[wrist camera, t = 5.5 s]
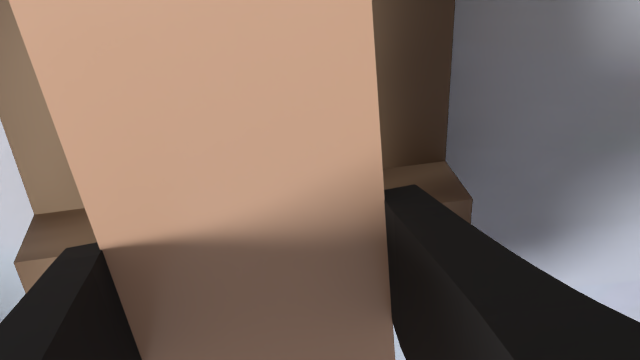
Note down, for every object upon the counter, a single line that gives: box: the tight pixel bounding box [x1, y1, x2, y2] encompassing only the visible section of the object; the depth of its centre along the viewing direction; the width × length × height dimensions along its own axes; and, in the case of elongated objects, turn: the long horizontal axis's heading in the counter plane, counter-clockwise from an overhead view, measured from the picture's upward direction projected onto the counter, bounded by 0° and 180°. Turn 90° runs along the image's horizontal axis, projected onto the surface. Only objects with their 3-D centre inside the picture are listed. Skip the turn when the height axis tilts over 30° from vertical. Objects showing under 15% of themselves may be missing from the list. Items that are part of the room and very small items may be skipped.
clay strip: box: [9, 0, 395, 360], centre depth 10 cm, size 14×4×3 cm, turn 6°
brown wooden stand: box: [0, 0, 473, 293], centre depth 15 cm, size 12×12×3 cm
